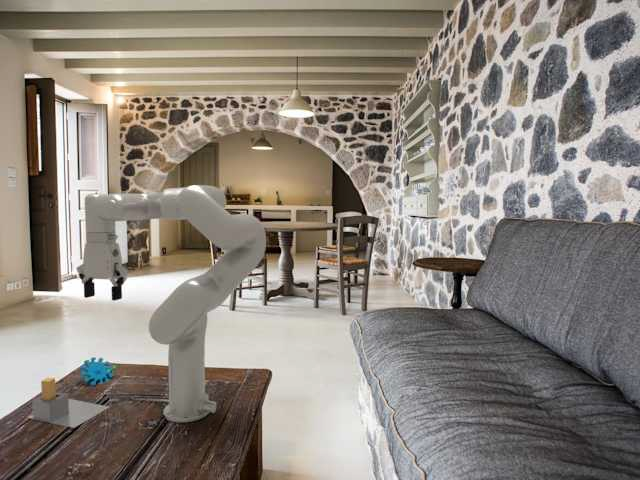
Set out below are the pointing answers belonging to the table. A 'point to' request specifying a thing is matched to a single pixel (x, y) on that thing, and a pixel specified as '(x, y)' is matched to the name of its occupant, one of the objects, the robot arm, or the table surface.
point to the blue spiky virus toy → (97, 371)
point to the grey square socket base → (64, 410)
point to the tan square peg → (48, 389)
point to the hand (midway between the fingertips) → (103, 298)
